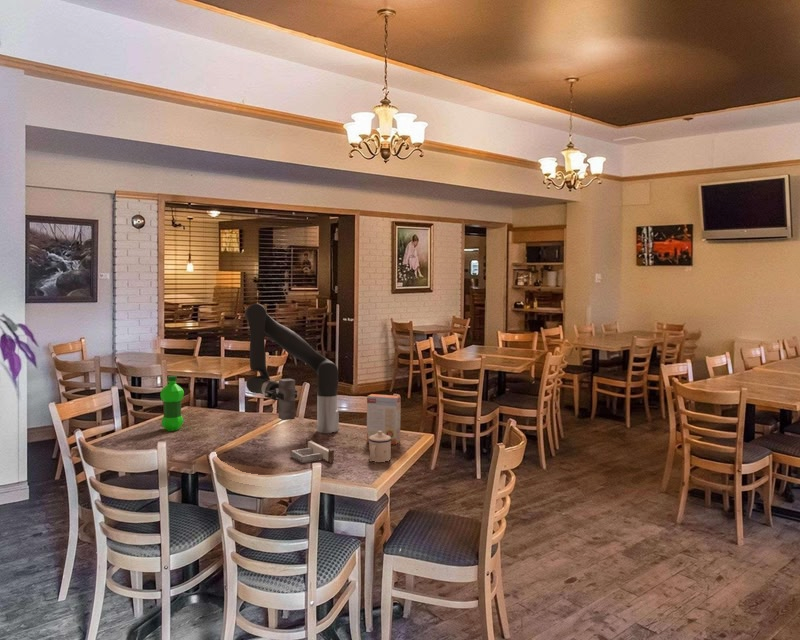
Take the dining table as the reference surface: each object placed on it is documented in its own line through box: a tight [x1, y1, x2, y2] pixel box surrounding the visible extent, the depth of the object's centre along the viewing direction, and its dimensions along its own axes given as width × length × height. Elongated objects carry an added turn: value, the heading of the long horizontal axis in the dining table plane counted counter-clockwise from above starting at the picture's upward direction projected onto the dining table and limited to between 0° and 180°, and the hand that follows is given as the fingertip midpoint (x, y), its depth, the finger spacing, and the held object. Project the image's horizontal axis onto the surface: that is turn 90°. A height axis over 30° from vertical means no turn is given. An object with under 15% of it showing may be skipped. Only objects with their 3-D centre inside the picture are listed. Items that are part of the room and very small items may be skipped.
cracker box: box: [366, 393, 402, 445], centre depth 273 cm, size 14×6×21 cm, turn 71°
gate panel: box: [308, 440, 330, 462], centre depth 251 cm, size 18×2×4 cm, turn 35°
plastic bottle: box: [159, 375, 185, 432], centre depth 289 cm, size 10×10×25 cm
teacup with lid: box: [368, 431, 392, 463], centre depth 246 cm, size 12×9×12 cm
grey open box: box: [290, 437, 335, 464], centre depth 248 cm, size 11×21×5 cm, turn 35°
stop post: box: [278, 378, 296, 421], centre depth 253 cm, size 5×5×16 cm
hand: (289, 396), depth 251 cm, fingers closed on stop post, 5 cm apart
